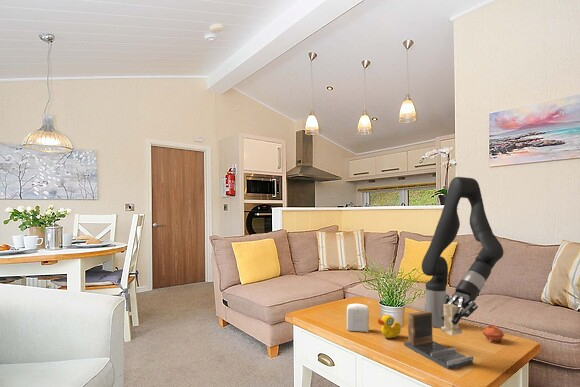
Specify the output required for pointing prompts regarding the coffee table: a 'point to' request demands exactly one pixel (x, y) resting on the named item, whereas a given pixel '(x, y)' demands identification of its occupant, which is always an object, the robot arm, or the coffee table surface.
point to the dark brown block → (420, 327)
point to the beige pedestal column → (448, 315)
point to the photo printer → (357, 318)
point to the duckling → (389, 326)
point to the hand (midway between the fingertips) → (447, 321)
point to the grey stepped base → (441, 354)
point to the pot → (493, 333)
